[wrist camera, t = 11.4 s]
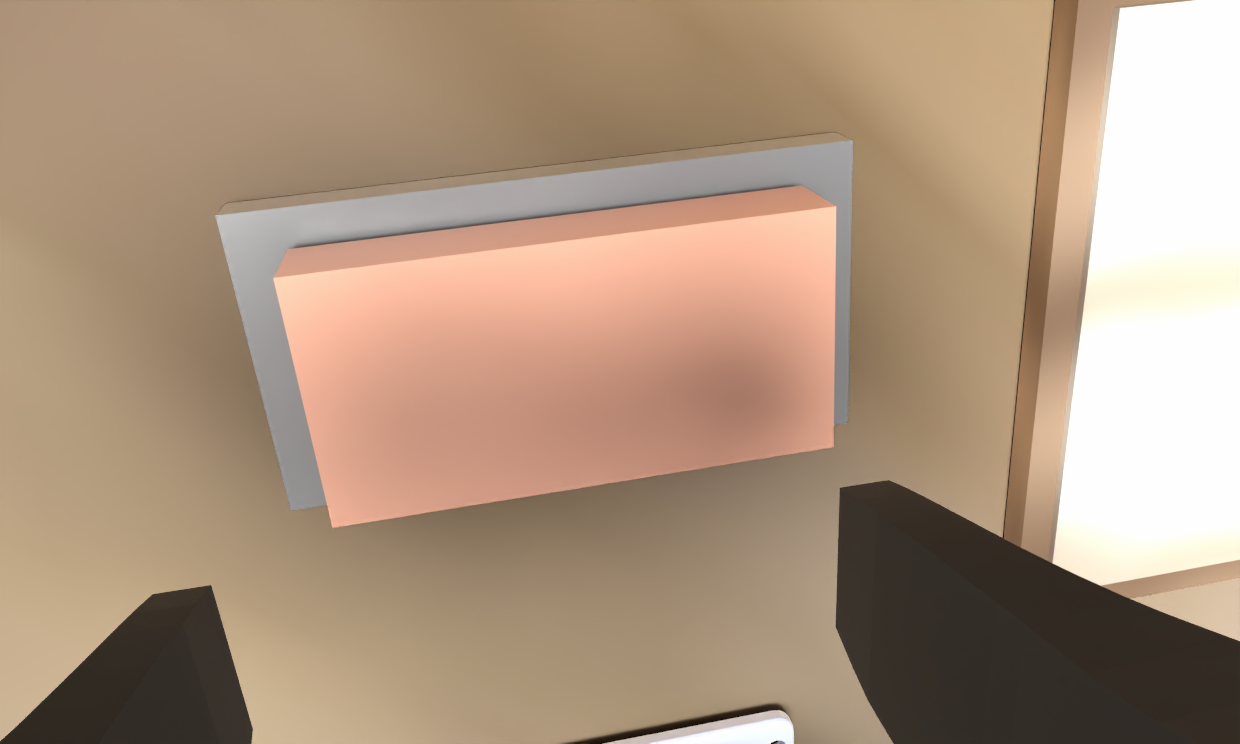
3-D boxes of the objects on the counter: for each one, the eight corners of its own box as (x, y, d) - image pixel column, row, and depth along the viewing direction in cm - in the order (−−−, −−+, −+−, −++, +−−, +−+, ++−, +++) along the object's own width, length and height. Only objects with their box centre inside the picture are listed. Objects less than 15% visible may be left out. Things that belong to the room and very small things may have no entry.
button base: (831, 404, 23) (847, 423, 22) (296, 487, 21) (290, 510, 20) (834, 132, 20) (852, 140, 19) (225, 203, 19) (215, 215, 18)
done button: (802, 410, 21) (833, 447, 20) (340, 481, 20) (332, 528, 18) (802, 185, 19) (836, 206, 18) (287, 248, 18) (273, 278, 16)
